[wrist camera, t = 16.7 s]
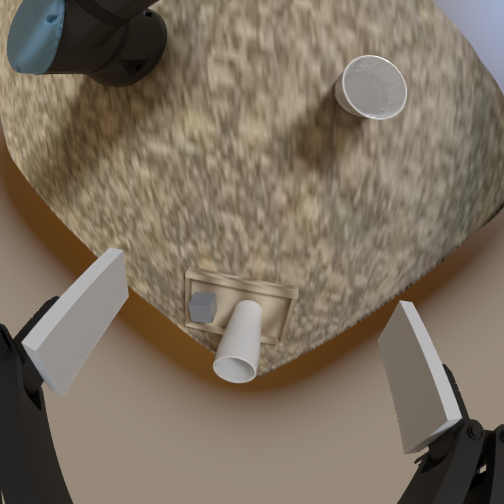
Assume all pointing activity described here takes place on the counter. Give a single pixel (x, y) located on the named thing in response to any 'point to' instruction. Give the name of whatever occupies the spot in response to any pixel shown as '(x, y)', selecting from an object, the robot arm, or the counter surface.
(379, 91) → the white cup
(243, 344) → the drinking glass
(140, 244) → the counter surface
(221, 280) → the tray
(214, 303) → the cube
